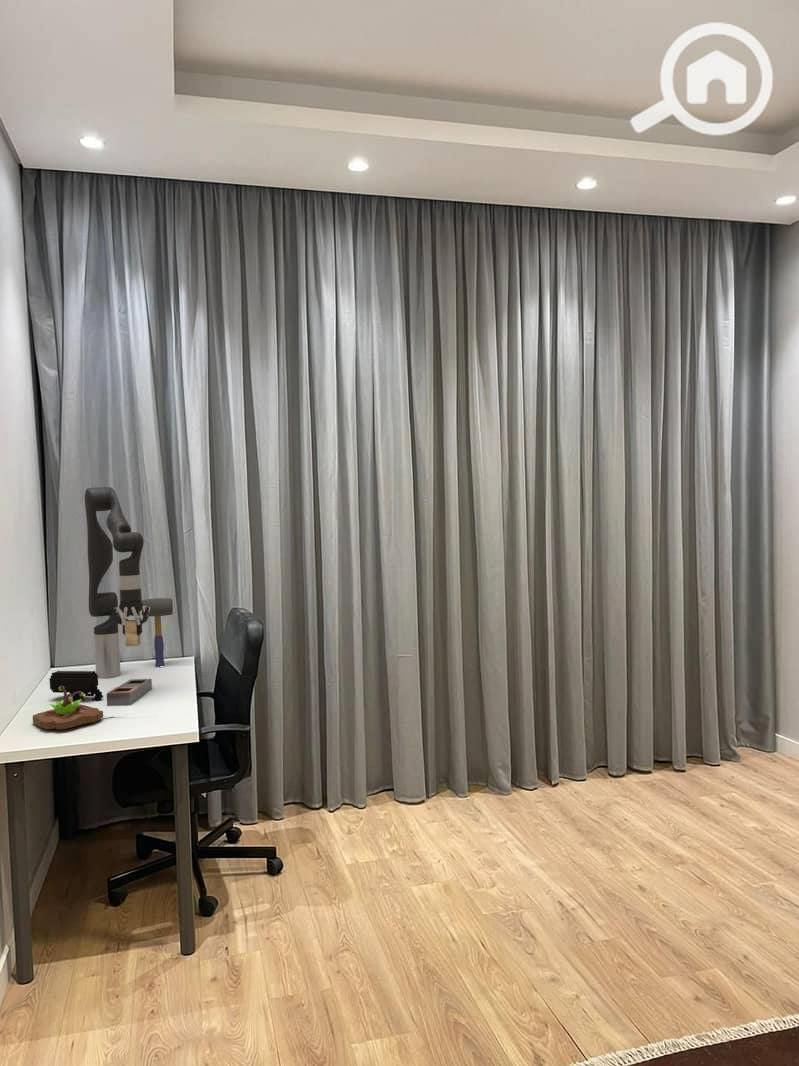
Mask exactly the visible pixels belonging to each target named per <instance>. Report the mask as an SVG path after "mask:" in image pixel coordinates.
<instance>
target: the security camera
mask: <svg viewBox="0 0 799 1066" xmlns="http://www.w3.org/2000/svg"><path fill="white" fill-rule="evenodd" d="M60 686H64V688H65V690H66V693H67V694H71V696H72V694H73V693H75V692H77V691H81V692H83V694H84V695H83V696H80V695H79V693H77V694H75V695H74V696H73V700H72V701H77V700H80V699H81V701H82V700H84V697H92V698H91V701H92V702H99V701H101V700H102V699H104V695H103V692H102V691H101V689H99V687H98V686H99V678H98V675H97V673H96V670H95V671H94V670H56V671H54V672H52V673H51V675H50V678H49V690H51V692H52V693H54V694H56V693H57V694H58V693H63V694H64V692H63V690H62V691H60V690H59V687H60Z"/></svg>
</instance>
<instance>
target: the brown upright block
mask: <svg viewBox="0 0 799 1066" xmlns="http://www.w3.org/2000/svg"><path fill="white" fill-rule="evenodd" d="M124 636H125V638H124V639H125V647H138V646H140V645H141V635H137V622H136V619H128V620H127V621H125V635H124Z"/></svg>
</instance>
